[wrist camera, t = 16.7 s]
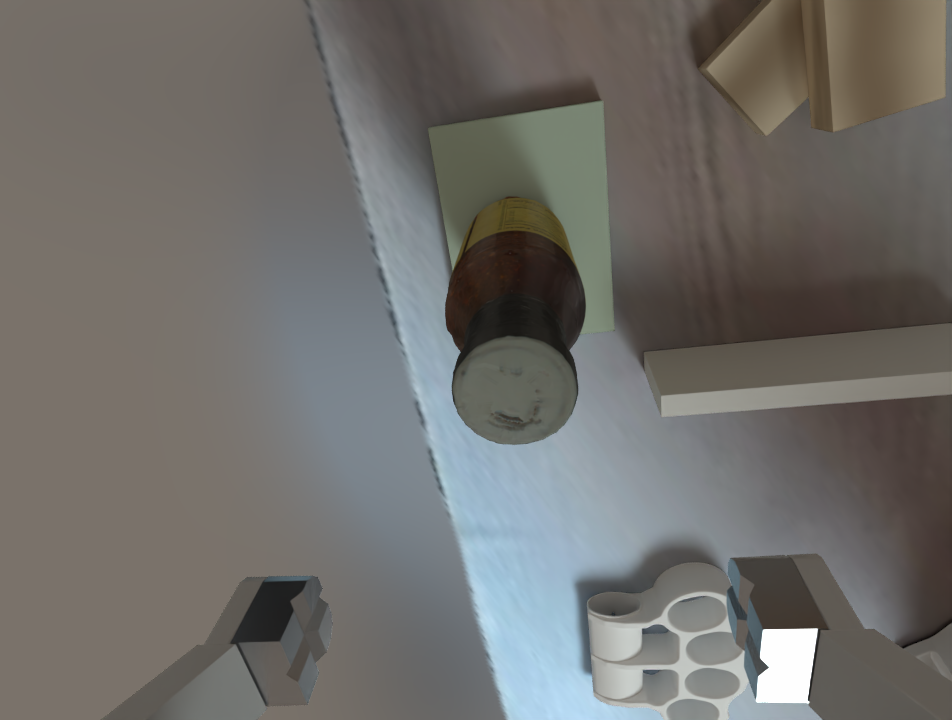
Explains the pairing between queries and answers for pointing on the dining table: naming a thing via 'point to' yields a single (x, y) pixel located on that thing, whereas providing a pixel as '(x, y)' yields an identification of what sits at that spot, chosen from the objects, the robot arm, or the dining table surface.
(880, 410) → the dining table surface
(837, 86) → the offcut upper
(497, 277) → the sauce bottle
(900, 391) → the rail
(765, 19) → the offcut lower
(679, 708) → the white hole rack
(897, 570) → the dining table surface
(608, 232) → the green mat
